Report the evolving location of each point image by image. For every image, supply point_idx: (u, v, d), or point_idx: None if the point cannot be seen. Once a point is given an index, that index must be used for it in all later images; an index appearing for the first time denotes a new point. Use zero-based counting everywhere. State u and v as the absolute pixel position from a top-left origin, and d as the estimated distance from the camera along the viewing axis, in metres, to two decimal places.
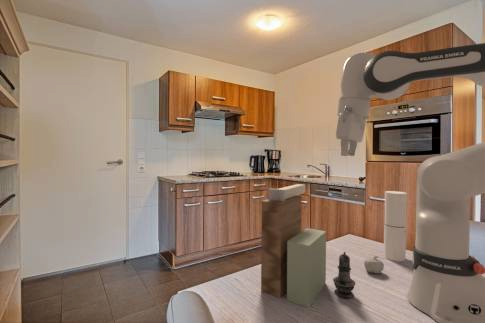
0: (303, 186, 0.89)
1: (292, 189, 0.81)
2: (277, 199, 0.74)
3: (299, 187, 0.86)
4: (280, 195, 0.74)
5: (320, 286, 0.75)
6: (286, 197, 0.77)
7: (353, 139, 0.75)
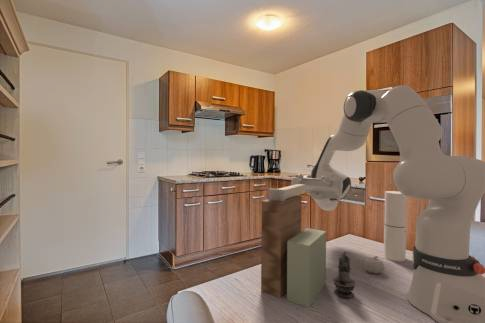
0: (303, 186, 0.89)
1: (292, 189, 0.81)
2: (277, 199, 0.74)
3: (299, 187, 0.86)
4: (280, 195, 0.74)
5: (320, 286, 0.75)
6: (286, 197, 0.77)
7: None
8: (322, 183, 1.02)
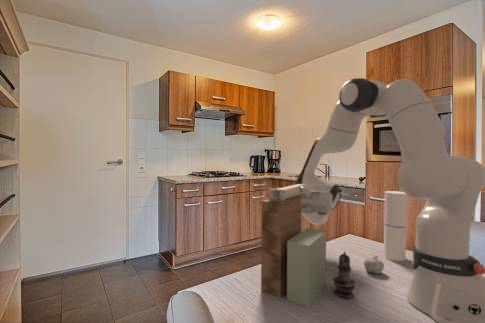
0: (303, 186, 0.89)
1: (292, 189, 0.81)
2: (277, 199, 0.74)
3: (299, 187, 0.86)
4: (280, 195, 0.74)
5: (320, 286, 0.75)
6: (286, 197, 0.77)
7: None
8: None
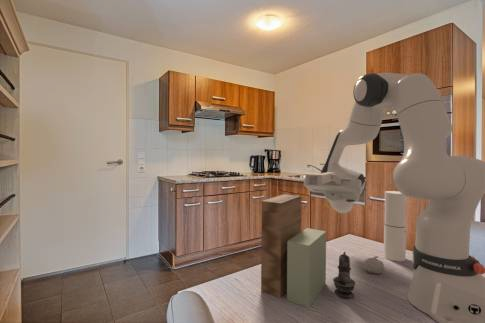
0: None
1: (326, 175, 0.85)
2: (314, 184, 0.78)
3: (330, 174, 0.90)
4: (317, 180, 0.78)
5: (320, 286, 0.75)
6: (321, 182, 0.81)
7: None
8: None
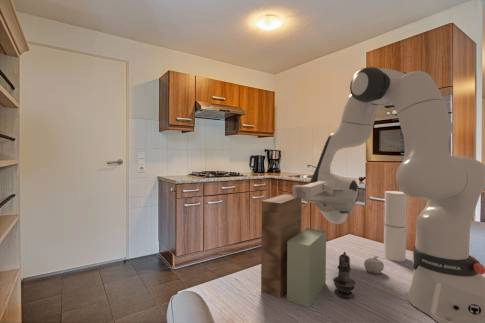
0: (325, 183, 0.85)
1: (316, 186, 0.77)
2: (302, 197, 0.70)
3: (322, 184, 0.82)
4: (305, 192, 0.70)
5: (320, 286, 0.75)
6: (310, 195, 0.73)
7: None
8: None
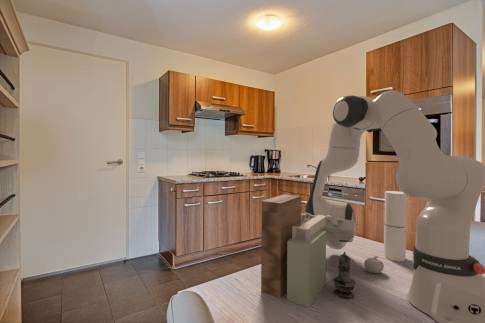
0: (325, 218, 0.85)
1: (315, 224, 0.77)
2: (302, 238, 0.71)
3: (321, 220, 0.82)
4: (305, 234, 0.70)
5: (320, 286, 0.75)
6: (310, 235, 0.74)
7: (311, 215, 0.89)
8: (330, 223, 0.85)
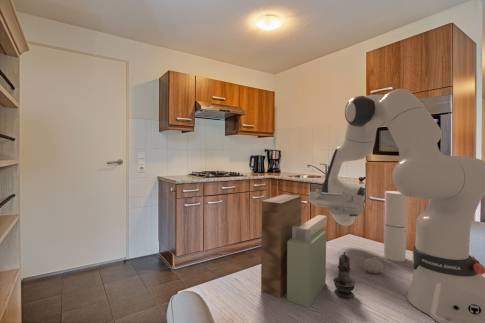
0: (325, 218, 0.85)
1: (315, 224, 0.77)
2: (302, 238, 0.71)
3: (321, 220, 0.82)
4: (305, 234, 0.70)
5: (320, 286, 0.75)
6: (310, 235, 0.74)
7: (324, 192, 1.02)
8: (341, 198, 0.98)
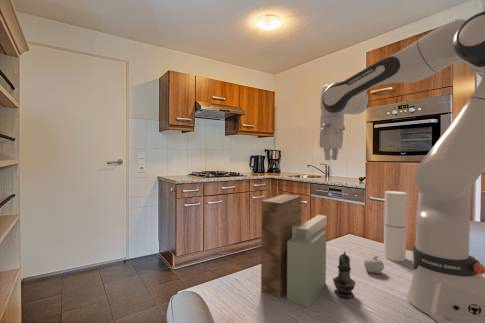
0: (325, 218, 0.85)
1: (315, 224, 0.77)
2: (302, 238, 0.71)
3: (321, 220, 0.82)
4: (305, 234, 0.70)
5: (320, 286, 0.75)
6: (310, 235, 0.74)
7: (333, 147, 1.00)
8: None
